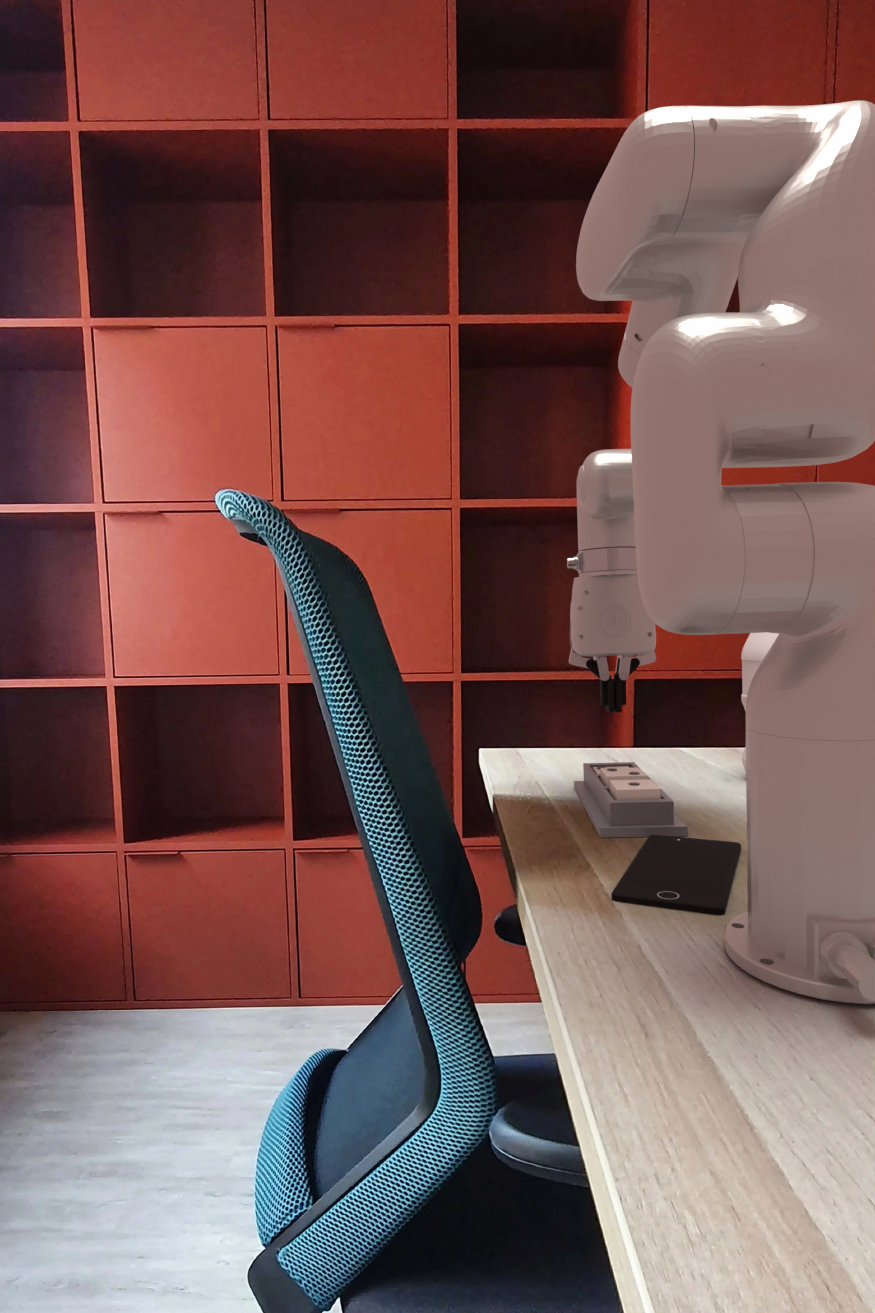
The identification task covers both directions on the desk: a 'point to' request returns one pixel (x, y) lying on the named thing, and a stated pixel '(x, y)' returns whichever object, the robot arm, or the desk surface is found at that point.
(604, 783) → the tile two
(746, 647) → the water bottle
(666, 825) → the tile tray
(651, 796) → the tile one
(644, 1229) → the desk surface
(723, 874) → the cell phone
